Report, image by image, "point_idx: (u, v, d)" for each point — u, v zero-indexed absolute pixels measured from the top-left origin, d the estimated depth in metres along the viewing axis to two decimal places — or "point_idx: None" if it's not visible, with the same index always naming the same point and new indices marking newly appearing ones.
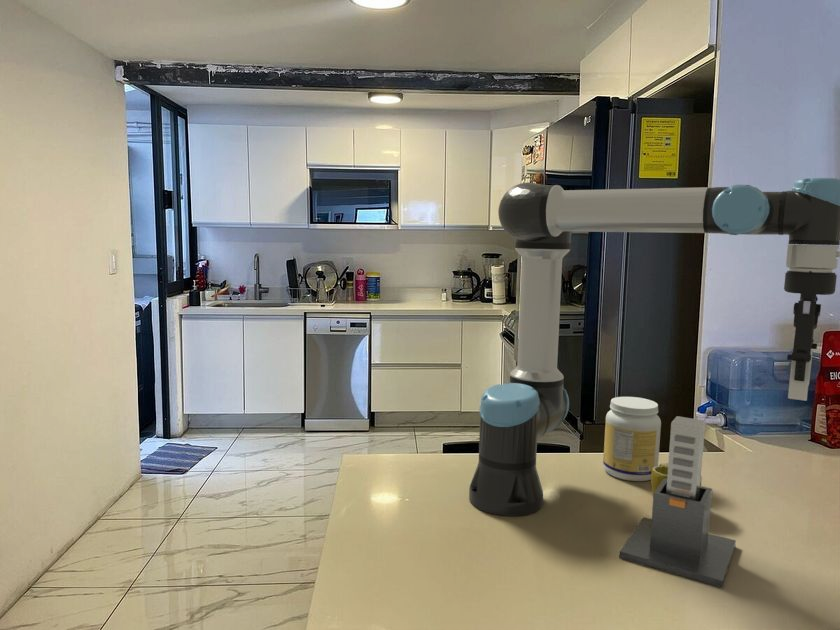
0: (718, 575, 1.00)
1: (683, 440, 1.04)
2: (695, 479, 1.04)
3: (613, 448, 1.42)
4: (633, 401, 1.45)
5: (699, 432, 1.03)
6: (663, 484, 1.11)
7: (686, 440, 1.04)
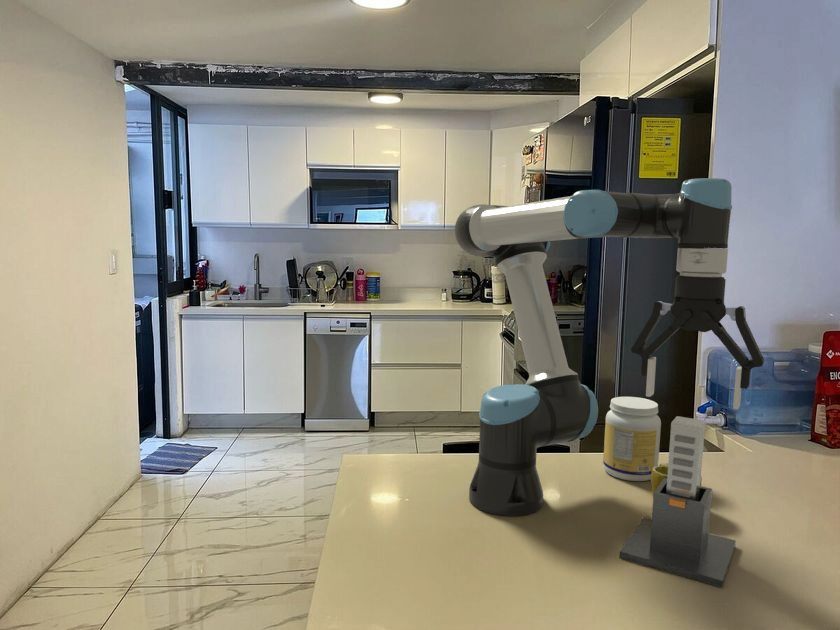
0: (718, 575, 1.00)
1: (683, 440, 1.04)
2: (695, 479, 1.04)
3: (613, 448, 1.42)
4: (633, 401, 1.45)
5: (699, 432, 1.03)
6: (663, 484, 1.11)
7: (686, 440, 1.04)
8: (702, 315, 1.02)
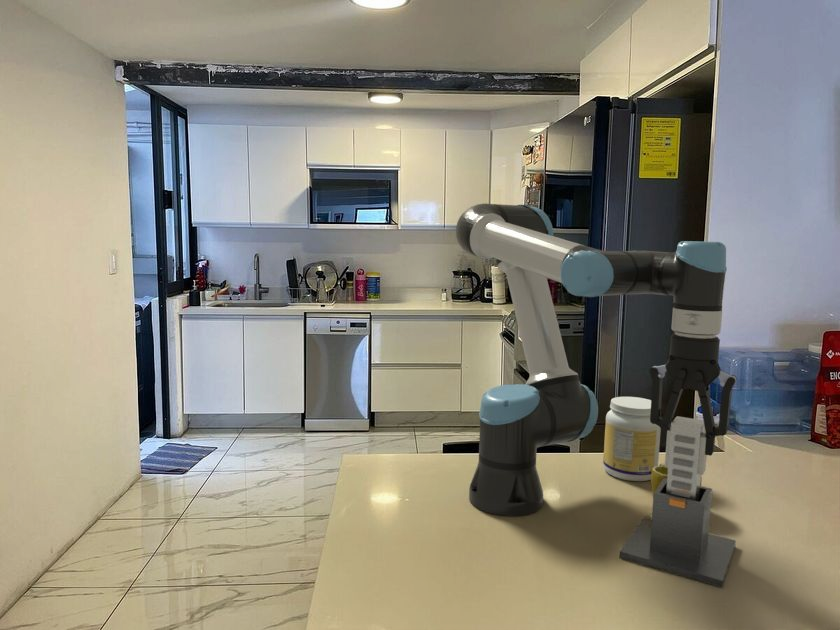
0: (718, 575, 1.00)
1: (683, 440, 1.04)
2: (695, 479, 1.04)
3: (613, 448, 1.42)
4: (633, 401, 1.45)
5: (699, 432, 1.03)
6: (663, 484, 1.11)
7: (686, 440, 1.04)
8: (696, 374, 1.03)
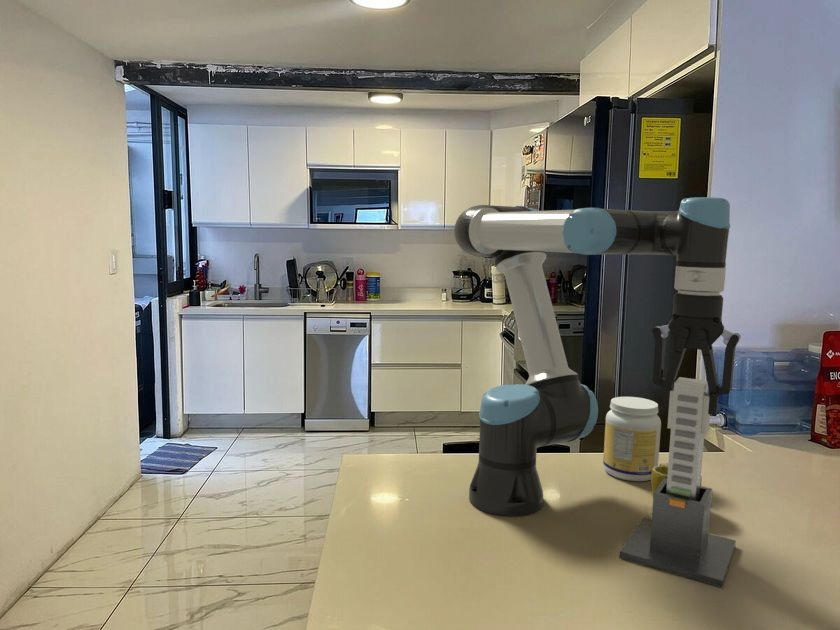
0: (718, 575, 1.00)
1: (686, 399, 1.03)
2: (698, 439, 1.04)
3: (613, 448, 1.42)
4: (633, 401, 1.45)
5: (702, 391, 1.02)
6: (663, 484, 1.11)
7: (689, 399, 1.03)
8: (700, 332, 1.02)
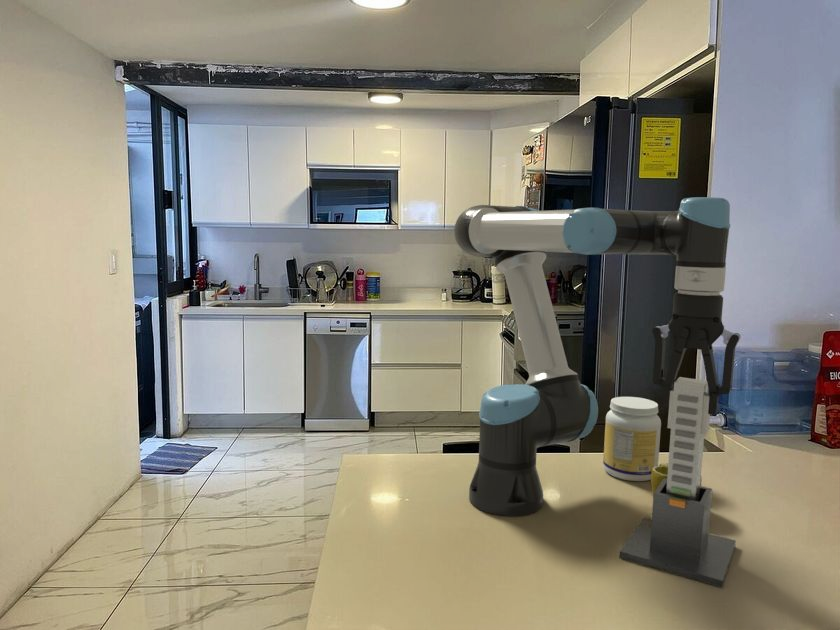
0: (718, 575, 1.00)
1: (686, 399, 1.03)
2: (698, 439, 1.04)
3: (613, 448, 1.42)
4: (633, 401, 1.45)
5: (702, 391, 1.02)
6: (663, 484, 1.11)
7: (689, 399, 1.03)
8: (700, 332, 1.02)
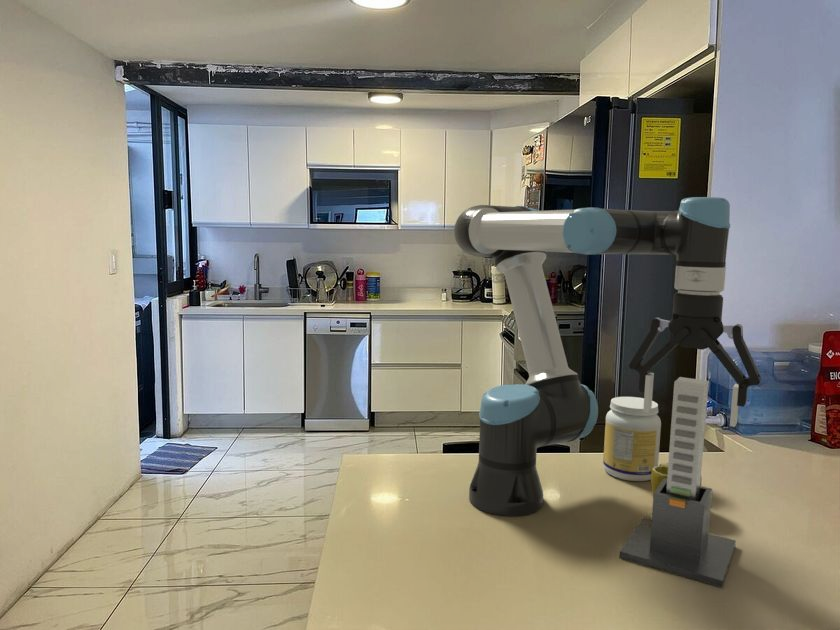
0: (718, 575, 1.00)
1: (686, 399, 1.03)
2: (698, 439, 1.04)
3: (613, 448, 1.42)
4: (633, 401, 1.45)
5: (702, 391, 1.02)
6: (663, 484, 1.11)
7: (689, 399, 1.03)
8: (700, 333, 1.02)
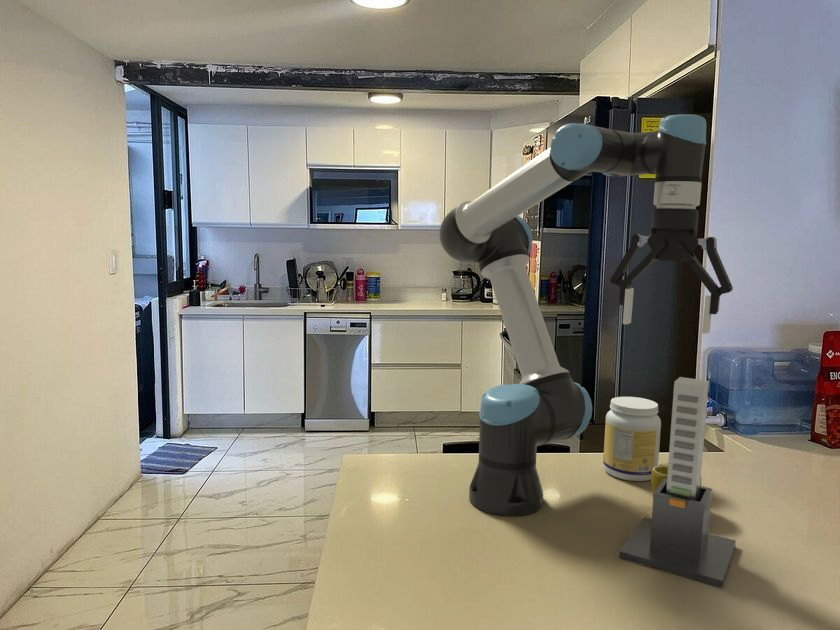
0: (718, 575, 1.00)
1: (686, 399, 1.03)
2: (698, 439, 1.04)
3: (613, 448, 1.42)
4: (633, 401, 1.45)
5: (702, 391, 1.02)
6: (663, 484, 1.11)
7: (689, 399, 1.03)
8: (675, 245, 1.08)
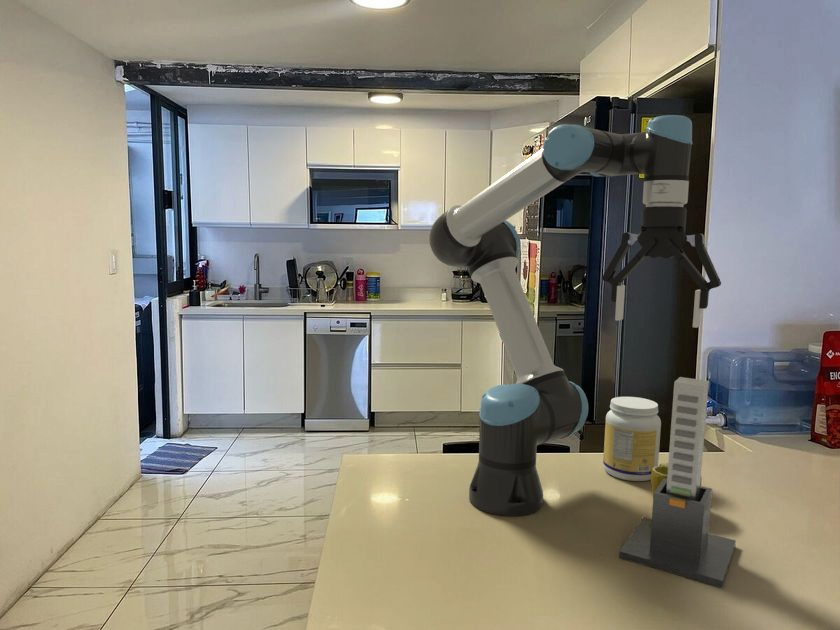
0: (718, 575, 1.00)
1: (686, 399, 1.03)
2: (698, 439, 1.04)
3: (613, 448, 1.42)
4: (633, 401, 1.45)
5: (702, 391, 1.02)
6: (663, 484, 1.11)
7: (689, 399, 1.03)
8: (665, 242, 1.11)
